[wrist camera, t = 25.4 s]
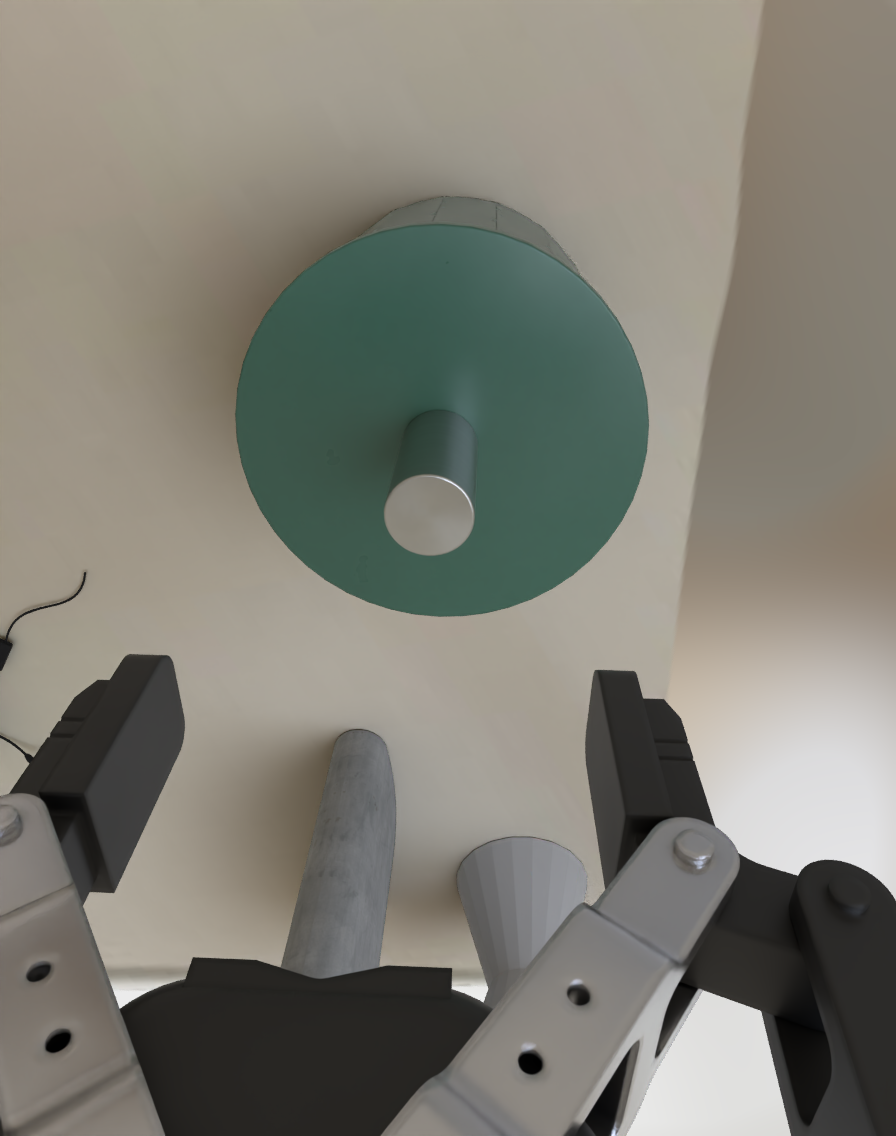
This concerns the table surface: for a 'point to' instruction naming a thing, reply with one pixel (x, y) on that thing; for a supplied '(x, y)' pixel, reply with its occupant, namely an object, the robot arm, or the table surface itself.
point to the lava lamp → (516, 903)
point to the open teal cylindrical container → (474, 220)
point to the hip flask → (347, 864)
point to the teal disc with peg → (442, 419)
